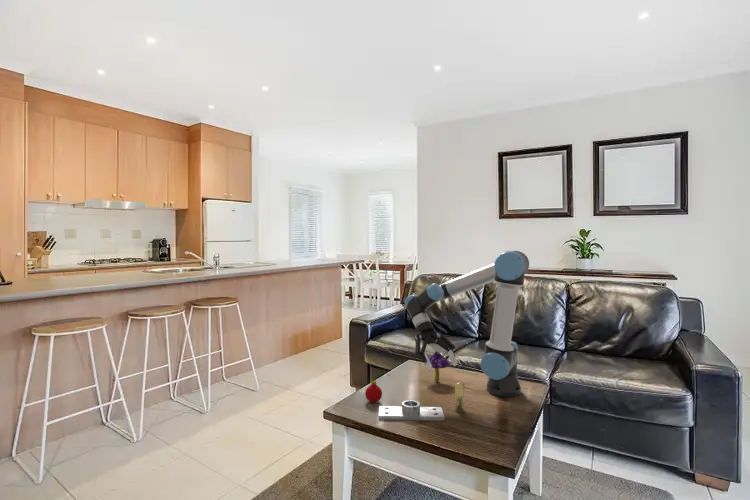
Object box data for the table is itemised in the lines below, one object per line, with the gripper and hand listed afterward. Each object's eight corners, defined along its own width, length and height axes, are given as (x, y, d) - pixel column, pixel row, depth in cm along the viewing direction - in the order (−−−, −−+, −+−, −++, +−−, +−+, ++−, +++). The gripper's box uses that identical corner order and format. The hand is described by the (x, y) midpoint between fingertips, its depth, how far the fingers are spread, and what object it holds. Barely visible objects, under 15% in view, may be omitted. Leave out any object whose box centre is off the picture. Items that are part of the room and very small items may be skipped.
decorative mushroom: (419, 382, 196) (419, 351, 196) (432, 375, 206) (433, 346, 205) (441, 388, 188) (441, 356, 188) (454, 381, 197) (454, 350, 197)
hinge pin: (463, 408, 165) (463, 381, 165) (464, 412, 162) (465, 384, 162) (454, 408, 165) (454, 381, 165) (455, 411, 162) (456, 384, 162)
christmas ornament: (379, 398, 176) (379, 375, 176) (383, 404, 169) (384, 380, 169) (363, 399, 174) (363, 376, 174) (367, 405, 167) (367, 382, 167)
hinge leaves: (441, 410, 163) (441, 399, 163) (444, 420, 154) (444, 408, 154) (379, 409, 164) (379, 398, 163) (378, 419, 155) (378, 407, 154)
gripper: (441, 327, 194) (462, 367, 181) (397, 332, 182) (415, 375, 169) (448, 318, 189) (470, 358, 176) (403, 322, 177) (422, 366, 164)
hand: (443, 366), depth 172 cm, fingers open, 13 cm apart
